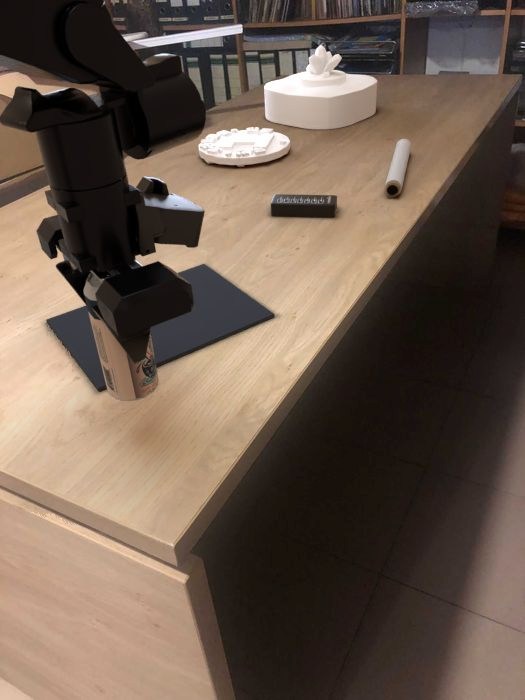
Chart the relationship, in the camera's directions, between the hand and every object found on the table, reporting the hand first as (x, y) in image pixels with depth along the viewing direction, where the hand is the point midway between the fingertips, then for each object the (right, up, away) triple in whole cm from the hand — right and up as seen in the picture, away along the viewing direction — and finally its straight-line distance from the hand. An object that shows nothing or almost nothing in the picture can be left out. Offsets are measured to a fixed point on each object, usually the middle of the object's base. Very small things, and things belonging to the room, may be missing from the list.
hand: (127, 346), depth 54 cm
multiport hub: (+19, +23, +49) cm, 58 cm away
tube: (+38, +34, +62) cm, 80 cm away
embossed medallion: (+8, +43, +77) cm, 88 cm away
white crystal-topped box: (+27, +61, +100) cm, 120 cm away
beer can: (0, -4, +3) cm, 5 cm away
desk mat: (-1, +4, +24) cm, 24 cm away
